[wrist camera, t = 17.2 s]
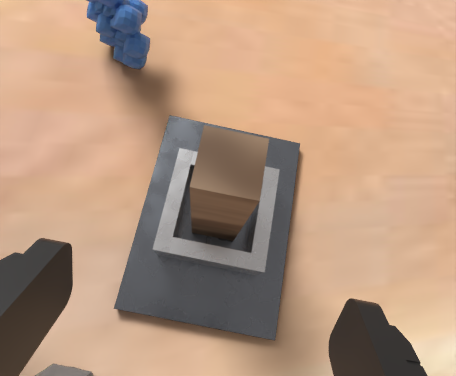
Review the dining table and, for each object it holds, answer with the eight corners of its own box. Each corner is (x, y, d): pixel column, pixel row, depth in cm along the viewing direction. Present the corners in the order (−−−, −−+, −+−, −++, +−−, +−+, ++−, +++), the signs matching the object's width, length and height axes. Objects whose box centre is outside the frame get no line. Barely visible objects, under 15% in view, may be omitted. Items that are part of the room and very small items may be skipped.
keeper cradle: (272, 339, 33) (285, 346, 28) (116, 308, 32) (102, 309, 28) (297, 147, 40) (311, 127, 36) (170, 119, 40) (167, 95, 35)
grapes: (180, 74, 42) (174, -9, 31) (135, 100, 40) (112, 22, 29) (129, 15, 44) (107, -82, 33) (85, 37, 42) (45, -58, 31)
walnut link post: (233, 241, 35) (259, 201, 21) (191, 232, 35) (189, 186, 20) (240, 201, 36) (269, 138, 22) (200, 193, 36) (204, 125, 22)
